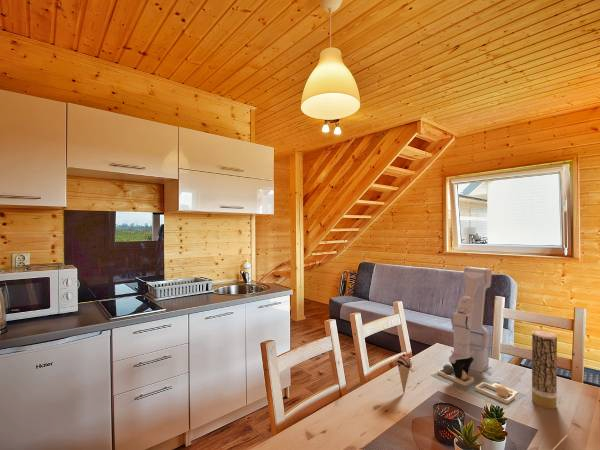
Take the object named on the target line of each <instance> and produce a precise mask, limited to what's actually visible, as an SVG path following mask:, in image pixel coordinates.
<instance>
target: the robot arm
mask: <svg viewBox="0 0 600 450" xmlns="http://www.w3.org/2000/svg"><path fill="white" fill-rule="evenodd" d="M492 276H493V275H492V270H491V269H490V268H489V267H488V268H486V267H475V266H468V265H467V266H465V268H463V278H464V281H465V286H464V293H463V296H461V297H459V301H458V304H457V307H456V309H455V312H453V313H452V315H451V319H450V321H451V322H450V323H451V326H452V329H451V330H452V331H453V349H452V350H450V353H451V355H450V356H448V362H449V363H450V365H451V366H452V367H453V370H454V373H455V377H457V378H459V379H461V378H462V371H463V370H464V371H465V372H466V374H467V375H468V372H469V371H470V369H471V370H473V371H476V372H478V373H482V372H483V371H486V370H487V369H490V368H491V365H490V363H489V361H490V360H489V359H490V358H489V353H490V352H489V348H490V342H491V341H490V332H489V330H488V329H487V328H486V327H485V326H484V325H483V324H484V323H483V322H484V314H485V313H484V312H485V301H486V300H485V299H486V291H487V289H488V288H491V285H492Z"/></svg>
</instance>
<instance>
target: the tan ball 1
mask: <svg viewBox="0 0 600 450" xmlns="http://www.w3.org/2000/svg"><path fill="white" fill-rule="evenodd" d="M466 378H467V374H466V372H465V371H464V370H463V371H462V378H461V379H459V378H458V379H459V380H465V379H466Z"/></svg>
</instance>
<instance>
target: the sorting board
mask: <svg viewBox="0 0 600 450" xmlns="http://www.w3.org/2000/svg"><path fill="white" fill-rule="evenodd" d="M430 376H431V377H433V378H435V379H437V380H440V381H441V382H444V383H447V384H448V385H451V386H453V387H455V388H457V389H460V390H462V391H464V392H467V393H469V394H471V395H473V396H475V397H477V398H479V399H482V400H484V401H486V402H489V403H491V404H493V405H495V406H497V405H498V406H497V407H499V406H501V407H500V408H502V409H504V410H506V409H507V408H509V407H511V406H512V405H513V404H515V403H516V402H517V401H519V400H521V398H523V397H524V396H525V395H526V394H525V393H522V392H520V391H517V390H515V389H512V388H510V387H507V386H504V385H502V384H499V383H497V382H495V381H492V380H489V379H487V378H484V377H482V376H479V375H477V374H474V373H473V372H472V373H471V372H469V371H468V375H467V378H466V379H465V380H459V379H458V378H457V377H455V373H454V372H453V374H451V375H448V374H446V373H445V372H444V371H443V367H442V368H439V369H437V372H435V373H433V374H431V375H430ZM500 385H501V386H504V387H506V388H507V390H508V392H509V395H508V396H507V397H506V398H502V397H499V396H498V395H497V393H496V387H497V386H500Z"/></svg>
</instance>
